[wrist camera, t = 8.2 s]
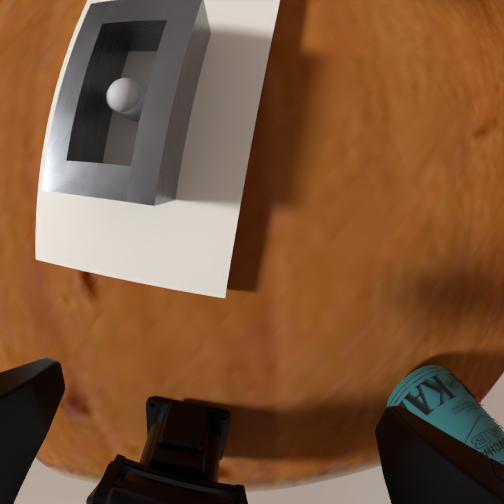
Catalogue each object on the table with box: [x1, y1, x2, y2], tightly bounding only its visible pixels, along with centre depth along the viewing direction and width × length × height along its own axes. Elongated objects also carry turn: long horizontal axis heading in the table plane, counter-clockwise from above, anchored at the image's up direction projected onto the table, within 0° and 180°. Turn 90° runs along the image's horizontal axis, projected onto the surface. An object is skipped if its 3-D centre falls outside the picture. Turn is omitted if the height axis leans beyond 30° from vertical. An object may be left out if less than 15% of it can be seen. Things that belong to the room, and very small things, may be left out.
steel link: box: [42, 0, 211, 206], centre depth 13 cm, size 10×6×4 cm, turn 170°
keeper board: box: [36, 0, 280, 298], centre depth 14 cm, size 20×13×5 cm, turn 170°
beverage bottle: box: [387, 365, 504, 464], centre depth 11 cm, size 6×7×20 cm
